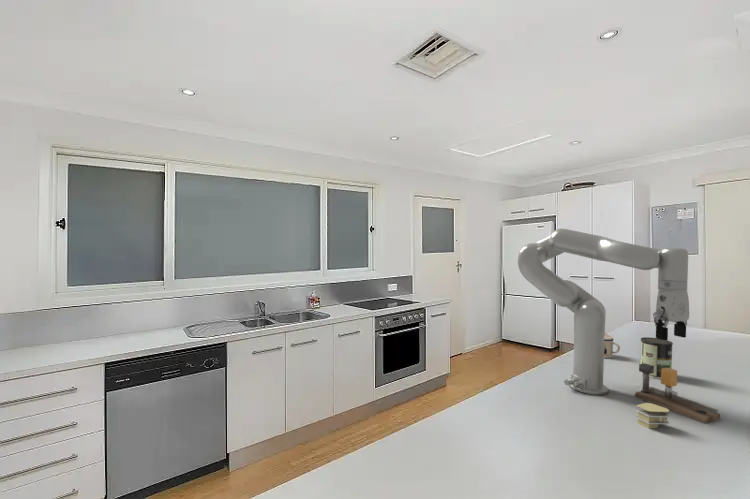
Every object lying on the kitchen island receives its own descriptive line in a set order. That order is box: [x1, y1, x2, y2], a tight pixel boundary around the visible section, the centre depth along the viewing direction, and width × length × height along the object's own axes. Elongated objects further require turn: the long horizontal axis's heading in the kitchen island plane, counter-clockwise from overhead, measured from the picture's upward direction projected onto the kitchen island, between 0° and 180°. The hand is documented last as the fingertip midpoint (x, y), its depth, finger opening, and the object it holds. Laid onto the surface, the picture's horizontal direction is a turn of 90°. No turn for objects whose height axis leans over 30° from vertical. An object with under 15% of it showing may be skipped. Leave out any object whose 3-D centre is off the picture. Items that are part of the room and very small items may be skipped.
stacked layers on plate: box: [635, 402, 670, 429], centre depth 107 cm, size 10×9×6 cm
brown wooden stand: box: [634, 363, 721, 424], centre depth 120 cm, size 8×20×11 cm, turn 23°
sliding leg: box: [660, 368, 679, 399], centre depth 122 cm, size 5×3×10 cm, turn 113°
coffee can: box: [639, 336, 674, 380], centre depth 149 cm, size 10×10×14 cm
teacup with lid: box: [604, 332, 621, 359], centre depth 173 cm, size 12×9×12 cm
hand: (670, 337), depth 121 cm, fingers open, 9 cm apart
